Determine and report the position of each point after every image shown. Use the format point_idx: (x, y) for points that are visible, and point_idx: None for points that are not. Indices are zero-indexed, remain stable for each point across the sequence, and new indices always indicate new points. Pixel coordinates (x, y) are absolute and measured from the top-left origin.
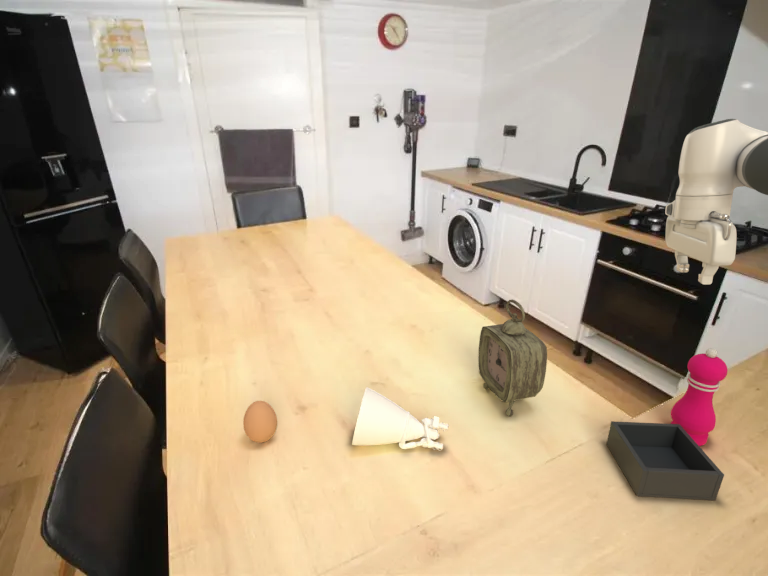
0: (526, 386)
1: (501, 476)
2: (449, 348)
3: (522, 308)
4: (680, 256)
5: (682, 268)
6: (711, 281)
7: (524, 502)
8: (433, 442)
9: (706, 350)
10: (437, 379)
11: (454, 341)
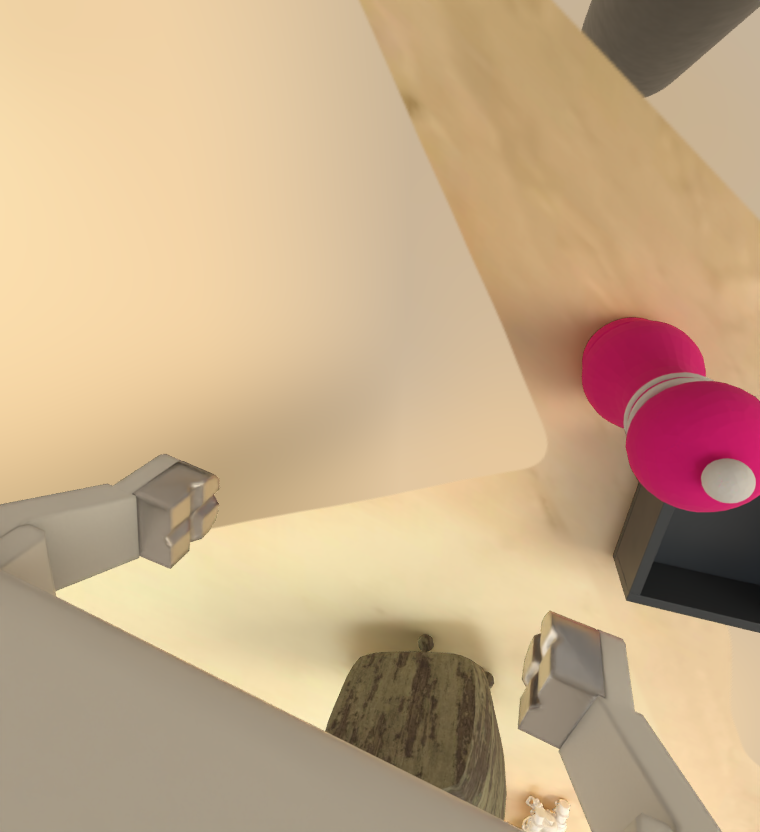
0: (497, 732)
1: None
2: (227, 668)
3: None
4: (55, 568)
5: (190, 523)
6: (623, 656)
7: (721, 752)
8: (560, 821)
9: (713, 498)
10: None
11: (194, 648)
